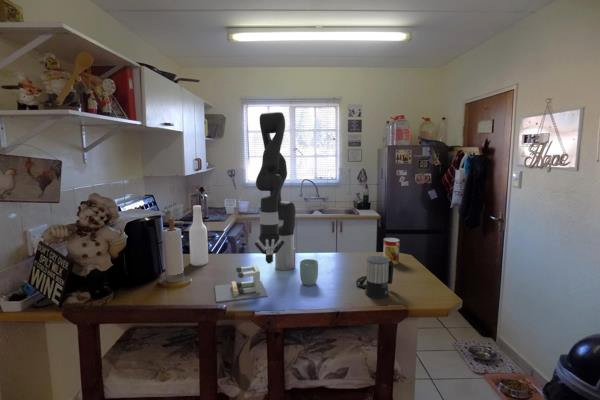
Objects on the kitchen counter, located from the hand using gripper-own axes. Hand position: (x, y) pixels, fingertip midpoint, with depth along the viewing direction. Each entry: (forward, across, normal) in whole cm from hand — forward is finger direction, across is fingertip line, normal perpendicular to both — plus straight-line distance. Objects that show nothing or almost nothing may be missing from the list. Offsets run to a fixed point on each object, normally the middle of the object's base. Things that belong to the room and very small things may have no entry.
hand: (269, 262), depth 145 cm
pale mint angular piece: (+6, +9, 0) cm, 11 cm away
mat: (+11, +12, 0) cm, 17 cm away
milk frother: (+11, -41, +13) cm, 44 cm away
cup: (+11, -18, -1) cm, 21 cm away
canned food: (+10, -68, -18) cm, 71 cm away
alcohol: (+11, +29, -42) cm, 52 cm away
